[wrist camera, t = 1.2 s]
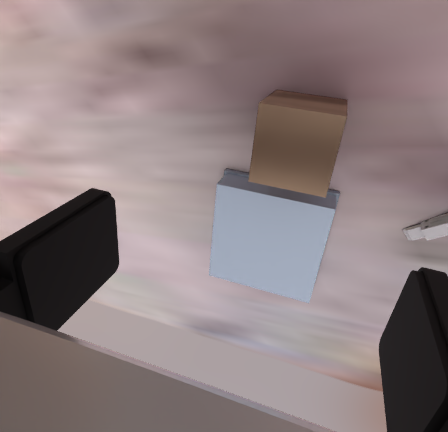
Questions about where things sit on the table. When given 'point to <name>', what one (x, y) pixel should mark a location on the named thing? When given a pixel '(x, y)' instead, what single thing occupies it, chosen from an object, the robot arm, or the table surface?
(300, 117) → the walnut block
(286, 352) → the table surface
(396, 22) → the table surface
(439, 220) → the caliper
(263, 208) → the base block
